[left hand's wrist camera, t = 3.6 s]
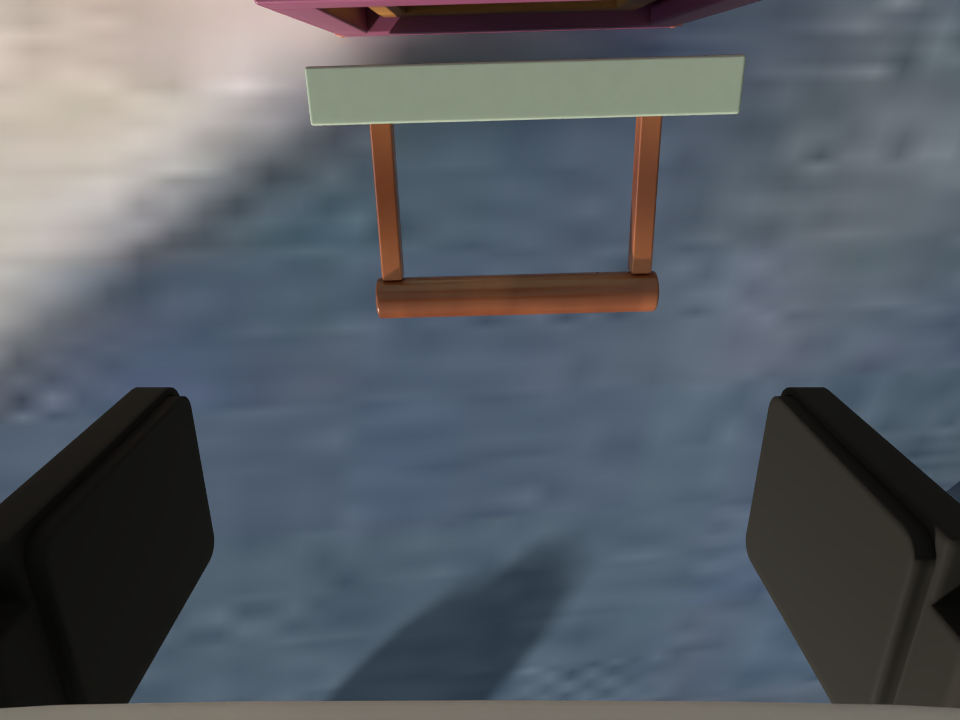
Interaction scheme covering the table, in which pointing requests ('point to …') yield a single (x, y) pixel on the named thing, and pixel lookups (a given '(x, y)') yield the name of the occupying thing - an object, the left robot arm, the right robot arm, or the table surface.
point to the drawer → (521, 96)
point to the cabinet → (488, 16)
